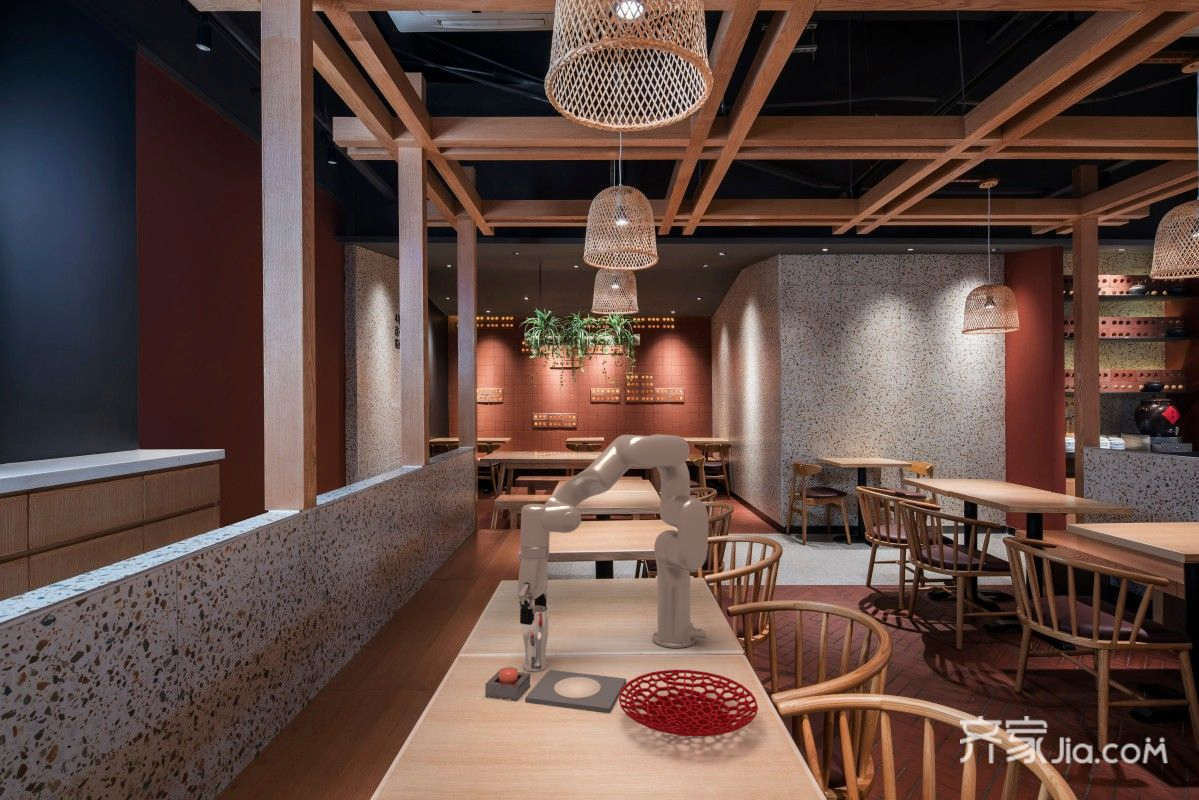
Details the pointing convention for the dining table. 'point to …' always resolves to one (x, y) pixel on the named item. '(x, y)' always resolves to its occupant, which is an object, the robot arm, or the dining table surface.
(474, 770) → the dining table surface
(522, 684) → the button housing
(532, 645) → the beer glass
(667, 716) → the bowl
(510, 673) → the button
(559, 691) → the grey rectangular board
